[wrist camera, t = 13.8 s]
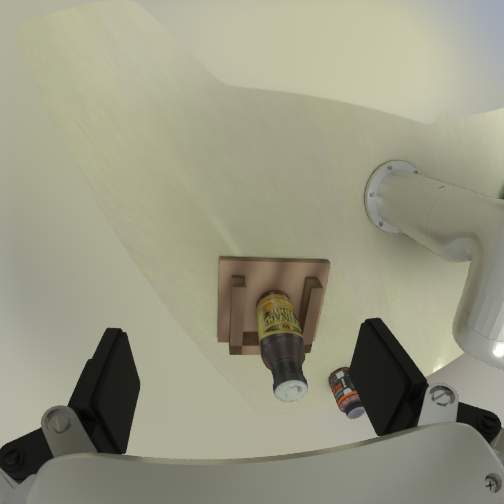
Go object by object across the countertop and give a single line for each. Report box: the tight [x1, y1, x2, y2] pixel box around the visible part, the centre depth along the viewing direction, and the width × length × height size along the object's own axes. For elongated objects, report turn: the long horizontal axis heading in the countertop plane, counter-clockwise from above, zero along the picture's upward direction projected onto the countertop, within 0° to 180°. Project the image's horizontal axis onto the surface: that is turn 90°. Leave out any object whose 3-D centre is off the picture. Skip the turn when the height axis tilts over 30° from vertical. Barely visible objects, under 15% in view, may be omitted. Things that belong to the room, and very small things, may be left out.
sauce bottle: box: [256, 291, 308, 402], centre depth 42 cm, size 7×6×20 cm
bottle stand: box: [218, 257, 330, 355], centre depth 50 cm, size 18×16×6 cm
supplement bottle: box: [329, 368, 365, 419], centre depth 56 cm, size 6×6×11 cm
